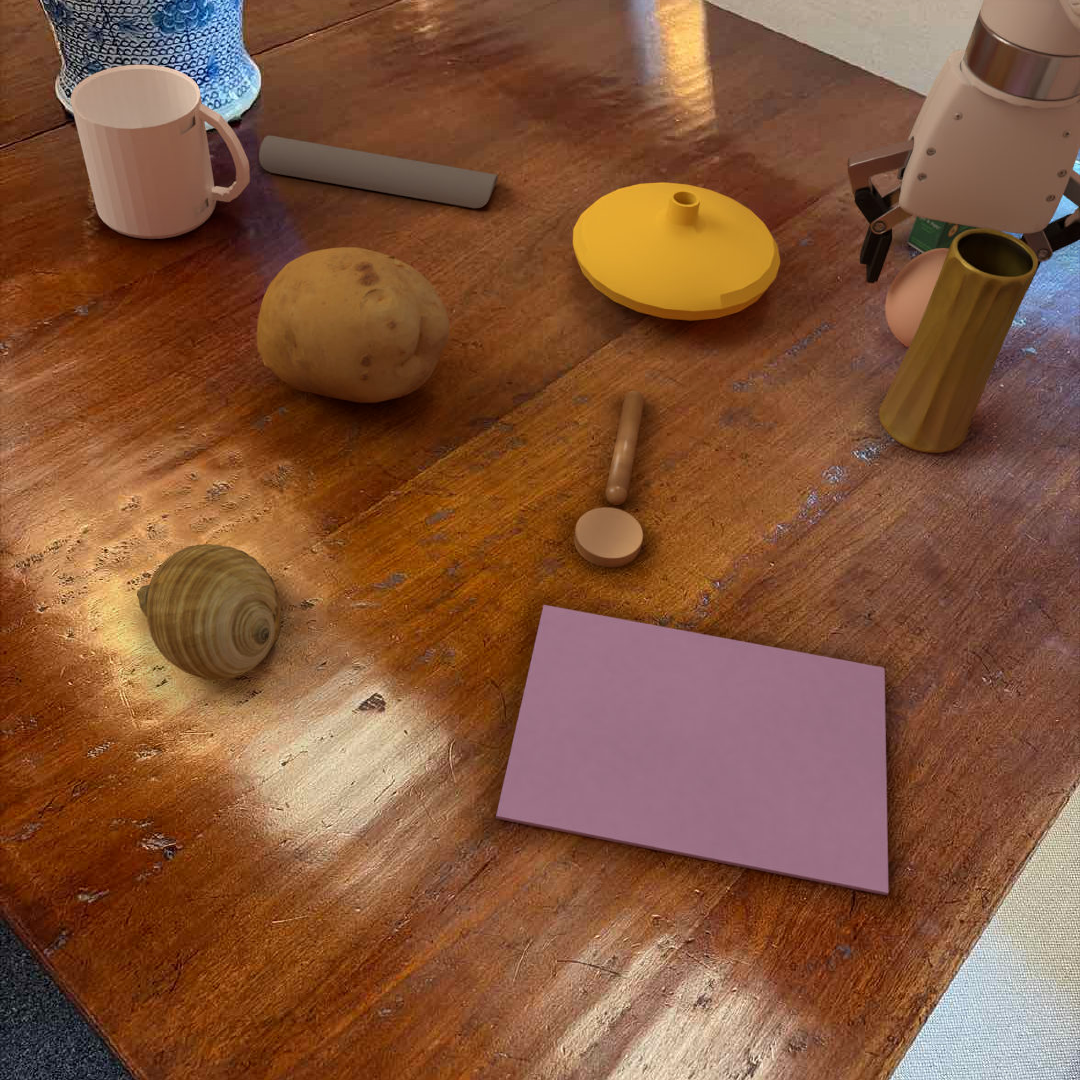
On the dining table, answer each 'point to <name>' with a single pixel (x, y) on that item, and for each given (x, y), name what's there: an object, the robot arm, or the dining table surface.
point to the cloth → (703, 749)
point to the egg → (913, 293)
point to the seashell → (212, 611)
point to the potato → (352, 325)
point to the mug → (151, 150)
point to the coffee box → (934, 234)
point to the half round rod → (376, 172)
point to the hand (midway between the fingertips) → (938, 283)
